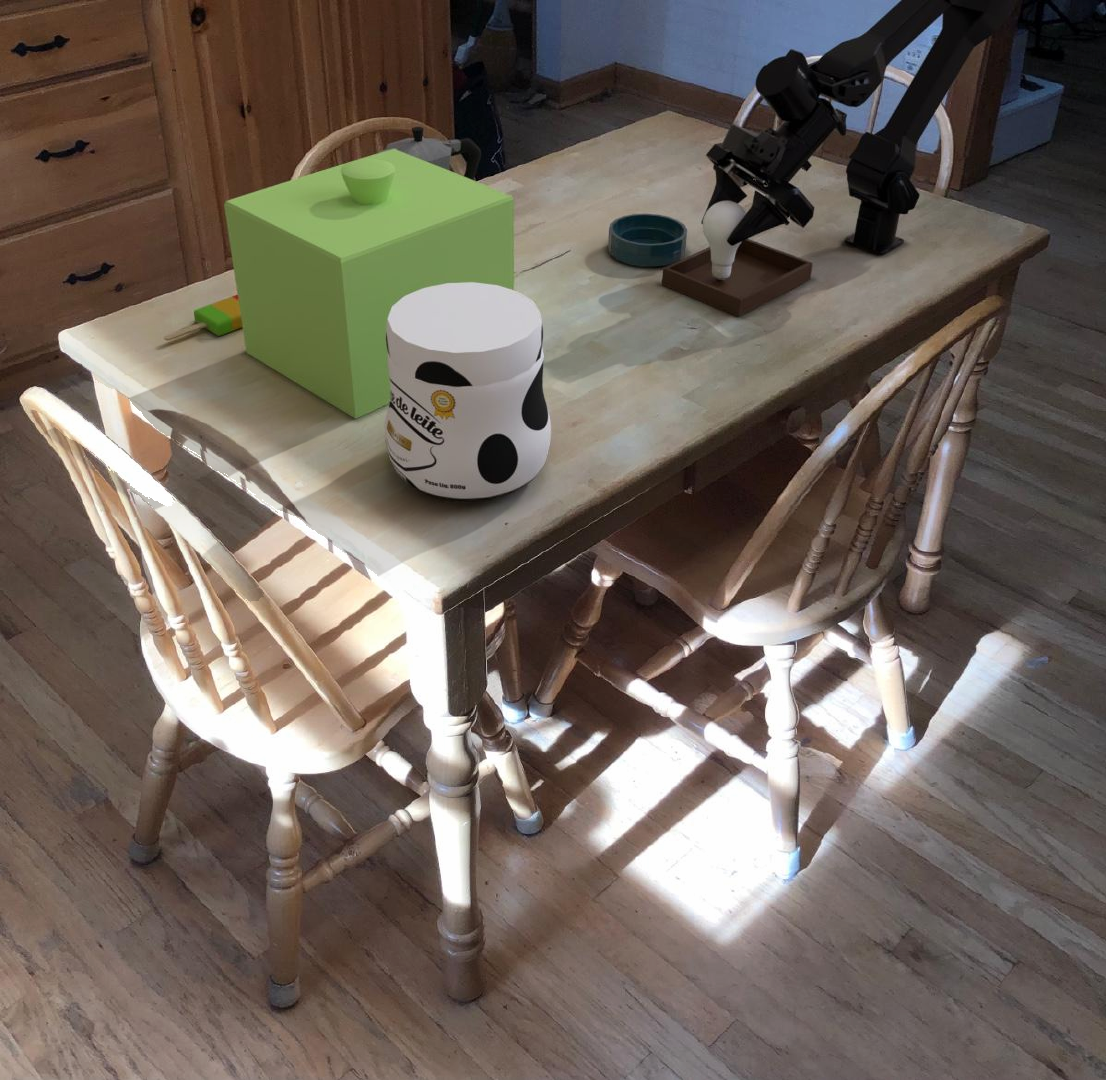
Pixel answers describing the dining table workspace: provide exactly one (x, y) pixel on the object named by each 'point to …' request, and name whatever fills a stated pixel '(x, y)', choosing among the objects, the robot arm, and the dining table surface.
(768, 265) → the tray
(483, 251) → the canister
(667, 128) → the dining table surface
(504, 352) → the milk container
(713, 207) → the lightbulb
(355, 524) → the dining table surface
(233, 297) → the popsicle
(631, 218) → the bowl
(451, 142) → the coffeepot
